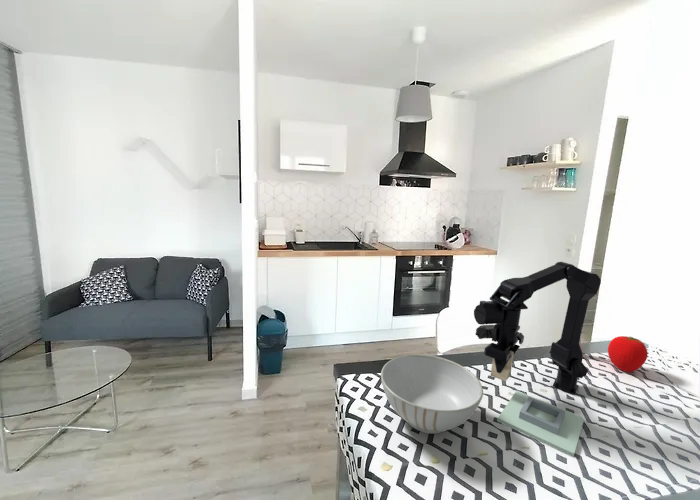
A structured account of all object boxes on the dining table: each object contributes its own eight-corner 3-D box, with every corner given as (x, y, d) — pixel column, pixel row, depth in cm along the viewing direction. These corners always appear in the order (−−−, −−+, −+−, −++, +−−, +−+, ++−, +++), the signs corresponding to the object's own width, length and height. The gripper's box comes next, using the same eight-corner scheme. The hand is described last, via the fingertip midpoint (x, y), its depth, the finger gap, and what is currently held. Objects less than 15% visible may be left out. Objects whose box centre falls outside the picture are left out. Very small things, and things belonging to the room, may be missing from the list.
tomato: (610, 372, 122) (617, 339, 120) (601, 359, 132) (607, 328, 129) (648, 380, 118) (657, 346, 115) (636, 366, 128) (644, 334, 125)
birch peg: (495, 370, 107) (498, 346, 106) (510, 375, 105) (513, 352, 103) (490, 375, 104) (493, 351, 103) (505, 381, 101) (509, 357, 100)
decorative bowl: (401, 465, 77) (406, 418, 75) (365, 394, 102) (368, 358, 100) (500, 446, 84) (506, 403, 82) (443, 384, 110) (447, 350, 107)
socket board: (516, 393, 107) (517, 384, 106) (583, 420, 95) (585, 411, 95) (497, 421, 93) (498, 411, 93) (573, 457, 82) (575, 446, 81)
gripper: (491, 307, 113) (485, 350, 116) (469, 322, 99) (463, 370, 102) (527, 317, 106) (520, 362, 109) (509, 334, 92) (501, 386, 95)
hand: (501, 369), depth 104 cm, fingers closed on birch peg, 4 cm apart
